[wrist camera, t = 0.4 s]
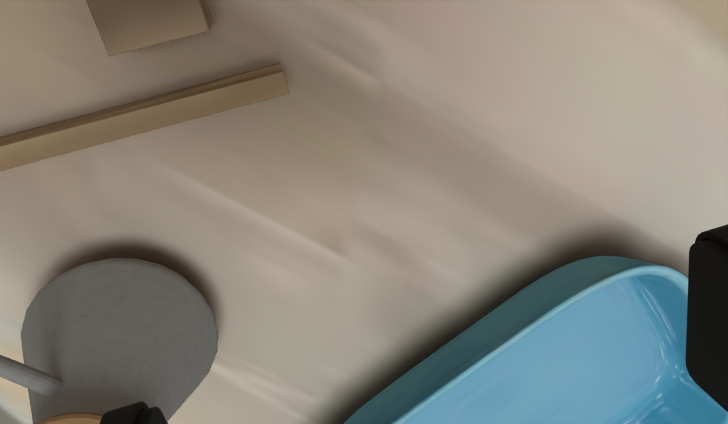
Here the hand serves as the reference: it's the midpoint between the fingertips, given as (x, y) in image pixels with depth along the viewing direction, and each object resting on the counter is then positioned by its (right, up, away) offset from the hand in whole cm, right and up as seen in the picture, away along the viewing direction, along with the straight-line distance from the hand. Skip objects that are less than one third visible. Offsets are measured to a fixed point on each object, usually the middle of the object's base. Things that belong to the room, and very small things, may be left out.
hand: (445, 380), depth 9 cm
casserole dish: (+10, -13, +38) cm, 41 cm away
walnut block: (-13, +15, +20) cm, 29 cm away
